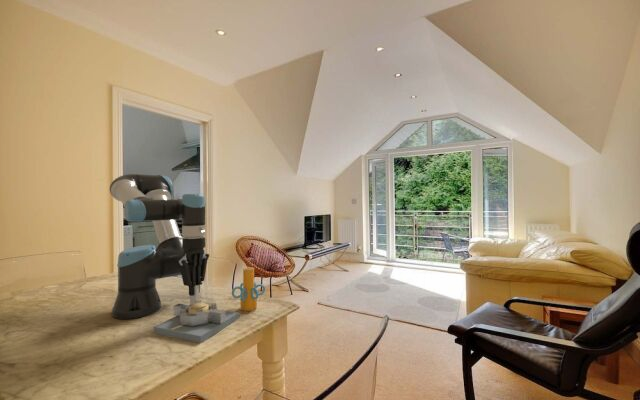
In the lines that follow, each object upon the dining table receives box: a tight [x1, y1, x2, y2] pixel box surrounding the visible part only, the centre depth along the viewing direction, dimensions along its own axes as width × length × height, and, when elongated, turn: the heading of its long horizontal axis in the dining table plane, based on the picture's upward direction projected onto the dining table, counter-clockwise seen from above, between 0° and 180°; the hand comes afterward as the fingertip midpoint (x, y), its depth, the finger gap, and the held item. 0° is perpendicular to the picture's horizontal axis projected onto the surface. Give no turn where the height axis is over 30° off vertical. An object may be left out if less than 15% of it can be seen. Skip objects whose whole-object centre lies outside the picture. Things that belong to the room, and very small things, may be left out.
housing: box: [153, 302, 240, 344], centre depth 94 cm, size 18×18×7 cm
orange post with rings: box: [231, 266, 266, 312], centre depth 108 cm, size 12×10×15 cm
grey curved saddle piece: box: [173, 299, 226, 326], centre depth 94 cm, size 19×11×4 cm, turn 70°
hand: (194, 303), depth 102 cm, fingers closed
